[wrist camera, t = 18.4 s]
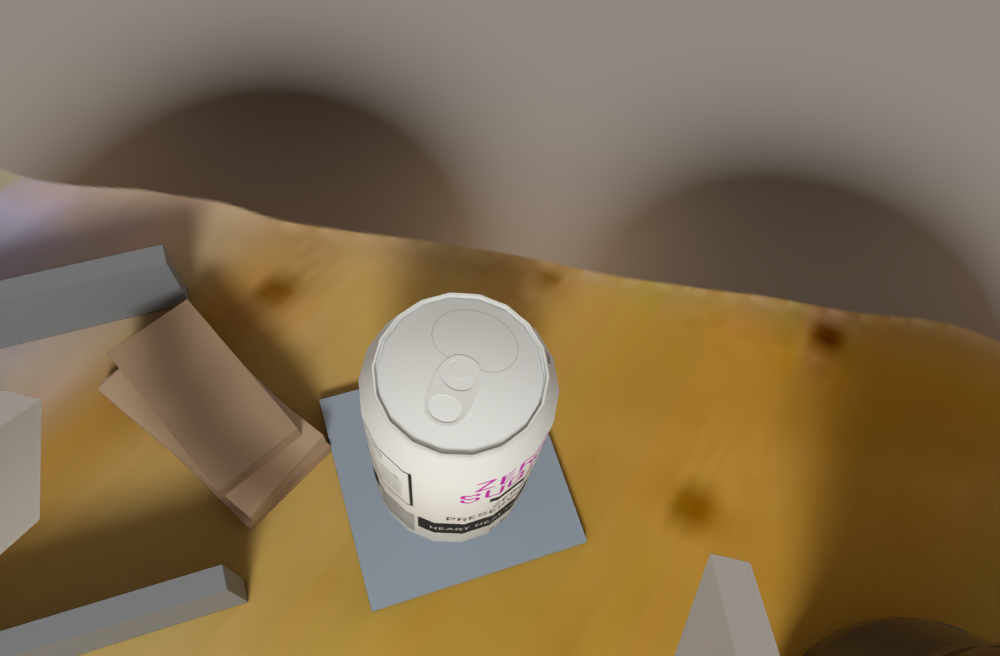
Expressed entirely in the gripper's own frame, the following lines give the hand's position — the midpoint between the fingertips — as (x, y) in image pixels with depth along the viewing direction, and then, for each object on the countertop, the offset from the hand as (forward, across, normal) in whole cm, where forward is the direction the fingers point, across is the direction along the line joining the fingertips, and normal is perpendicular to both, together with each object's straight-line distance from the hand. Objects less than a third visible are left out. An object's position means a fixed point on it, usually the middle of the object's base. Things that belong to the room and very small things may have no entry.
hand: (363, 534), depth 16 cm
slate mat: (+28, 0, +14) cm, 31 cm away
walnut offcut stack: (+28, +13, +15) cm, 34 cm away
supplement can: (+27, 0, +14) cm, 31 cm away
